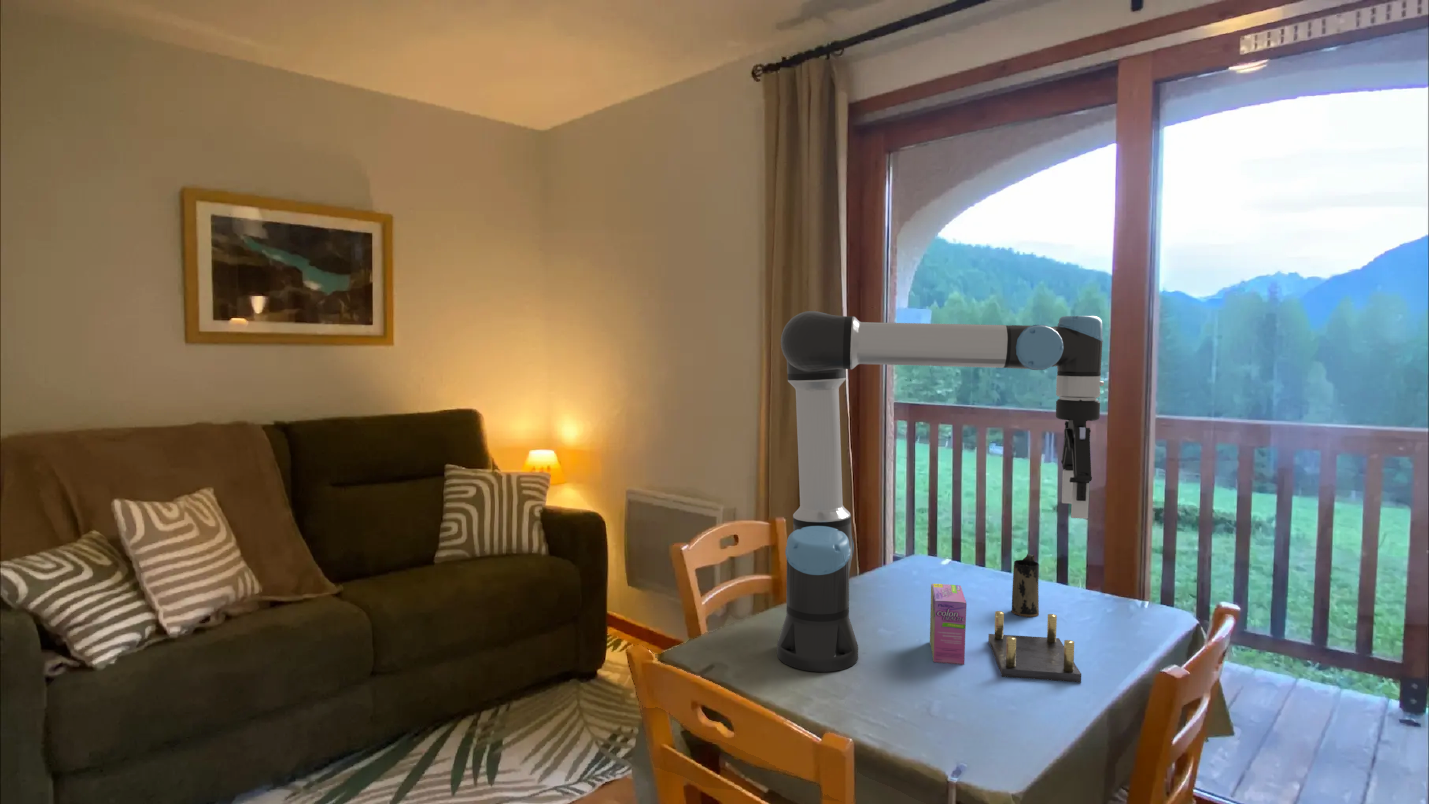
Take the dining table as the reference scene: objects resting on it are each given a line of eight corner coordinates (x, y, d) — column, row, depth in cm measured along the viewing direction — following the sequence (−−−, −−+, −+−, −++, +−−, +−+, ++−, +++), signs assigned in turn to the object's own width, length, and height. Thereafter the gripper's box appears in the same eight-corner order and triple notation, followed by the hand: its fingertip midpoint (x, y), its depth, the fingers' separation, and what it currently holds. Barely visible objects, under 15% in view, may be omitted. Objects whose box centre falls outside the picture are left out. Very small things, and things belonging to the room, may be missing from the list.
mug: (1035, 619, 169) (1037, 563, 168) (1008, 614, 172) (1009, 559, 171) (1043, 608, 176) (1044, 555, 175) (1017, 604, 179) (1018, 551, 178)
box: (965, 665, 146) (966, 601, 145) (933, 662, 147) (934, 599, 146) (959, 643, 156) (960, 584, 155) (929, 641, 157) (930, 583, 156)
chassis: (1001, 676, 140) (1002, 640, 140) (988, 641, 157) (989, 608, 157) (1081, 682, 138) (1082, 645, 137) (1058, 645, 154) (1059, 612, 154)
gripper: (1112, 404, 137) (1107, 526, 138) (1089, 394, 161) (1085, 498, 162) (1065, 403, 139) (1061, 523, 141) (1049, 393, 163) (1045, 496, 164)
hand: (1074, 510), depth 151 cm, fingers open, 13 cm apart
